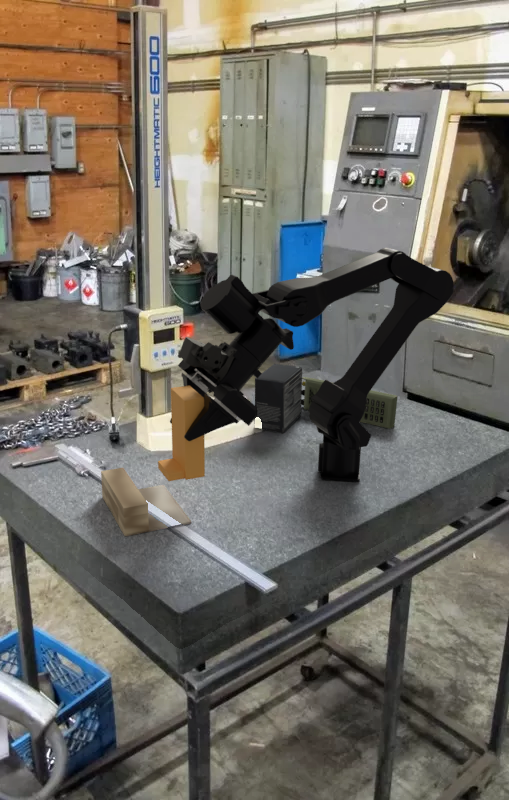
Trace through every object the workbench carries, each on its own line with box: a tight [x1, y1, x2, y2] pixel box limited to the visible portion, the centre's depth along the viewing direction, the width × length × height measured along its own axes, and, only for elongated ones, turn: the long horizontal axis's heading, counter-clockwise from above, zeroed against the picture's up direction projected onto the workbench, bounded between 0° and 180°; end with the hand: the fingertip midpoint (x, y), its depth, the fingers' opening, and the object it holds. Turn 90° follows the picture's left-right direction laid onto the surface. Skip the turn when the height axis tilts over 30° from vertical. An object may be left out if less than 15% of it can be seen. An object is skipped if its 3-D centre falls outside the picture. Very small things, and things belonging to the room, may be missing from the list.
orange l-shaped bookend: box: [157, 385, 206, 482], centre depth 113 cm, size 6×6×12 cm
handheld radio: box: [301, 376, 398, 430], centre depth 154 cm, size 7×3×25 cm
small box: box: [254, 363, 303, 434], centre depth 149 cm, size 11×6×10 cm, turn 157°
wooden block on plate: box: [100, 467, 193, 537], centre depth 115 cm, size 10×13×4 cm
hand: (179, 431), depth 113 cm, fingers closed on orange l-shaped bookend, 6 cm apart
